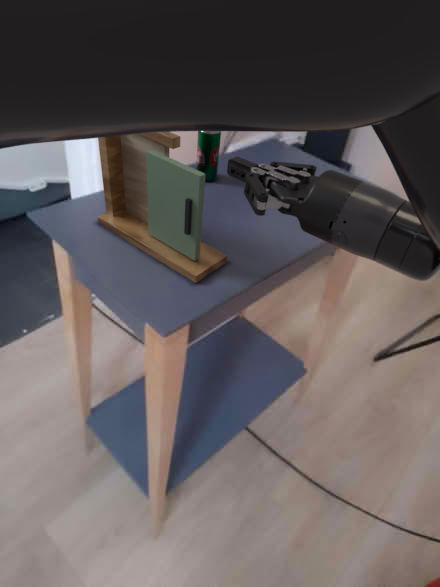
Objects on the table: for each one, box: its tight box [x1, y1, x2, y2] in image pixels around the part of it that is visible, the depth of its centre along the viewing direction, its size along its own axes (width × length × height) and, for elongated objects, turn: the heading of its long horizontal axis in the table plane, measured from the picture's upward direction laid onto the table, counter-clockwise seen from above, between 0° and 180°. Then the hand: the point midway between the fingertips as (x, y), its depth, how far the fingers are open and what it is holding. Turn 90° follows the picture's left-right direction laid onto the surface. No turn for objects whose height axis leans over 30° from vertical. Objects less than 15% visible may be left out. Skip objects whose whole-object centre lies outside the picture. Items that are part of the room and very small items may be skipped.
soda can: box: [195, 131, 222, 182], centre depth 89 cm, size 5×5×12 cm
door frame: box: [97, 132, 228, 284], centre depth 64 cm, size 8×25×19 cm, turn 51°
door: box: [146, 150, 206, 261], centre depth 62 cm, size 2×11×15 cm, turn 51°
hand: (230, 165), depth 51 cm, fingers closed
